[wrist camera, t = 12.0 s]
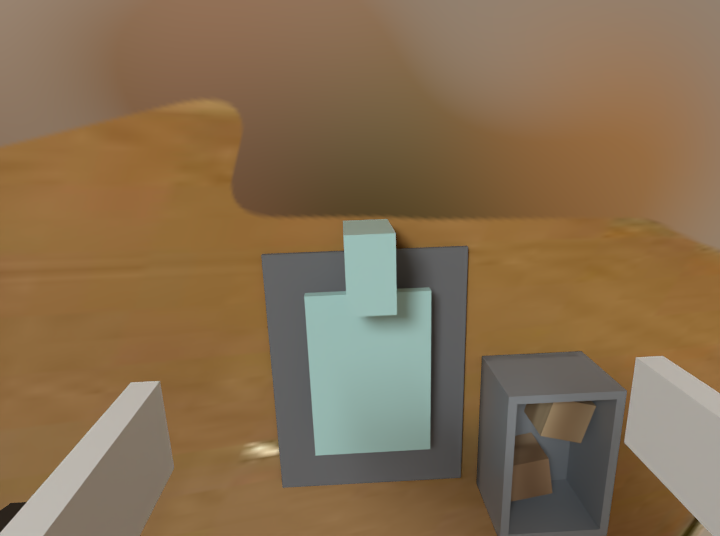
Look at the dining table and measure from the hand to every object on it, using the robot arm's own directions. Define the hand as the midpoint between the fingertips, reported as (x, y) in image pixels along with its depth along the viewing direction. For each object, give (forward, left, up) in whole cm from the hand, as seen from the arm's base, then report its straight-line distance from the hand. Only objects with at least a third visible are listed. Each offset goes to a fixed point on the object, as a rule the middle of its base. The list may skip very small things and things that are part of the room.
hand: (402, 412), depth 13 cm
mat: (0, -10, -21) cm, 24 cm away
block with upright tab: (0, -7, -21) cm, 22 cm away
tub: (+13, -15, -21) cm, 29 cm away
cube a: (+12, -18, -21) cm, 30 cm away
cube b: (+14, -13, -21) cm, 28 cm away
